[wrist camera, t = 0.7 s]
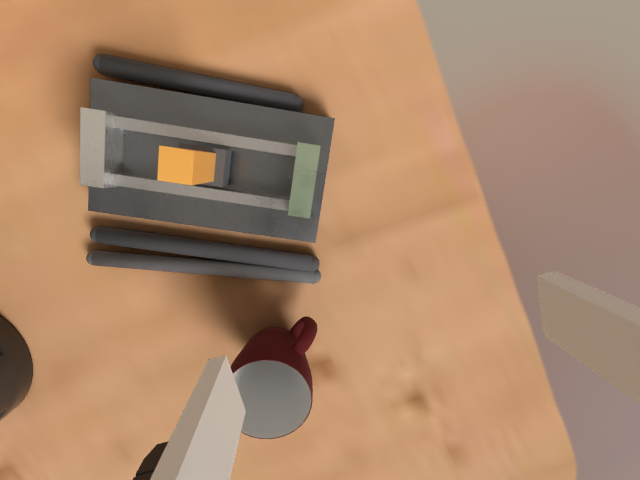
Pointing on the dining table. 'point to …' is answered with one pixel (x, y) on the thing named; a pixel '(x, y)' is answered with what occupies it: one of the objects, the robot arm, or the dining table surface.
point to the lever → (194, 165)
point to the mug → (275, 380)
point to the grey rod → (203, 248)
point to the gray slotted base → (214, 132)
